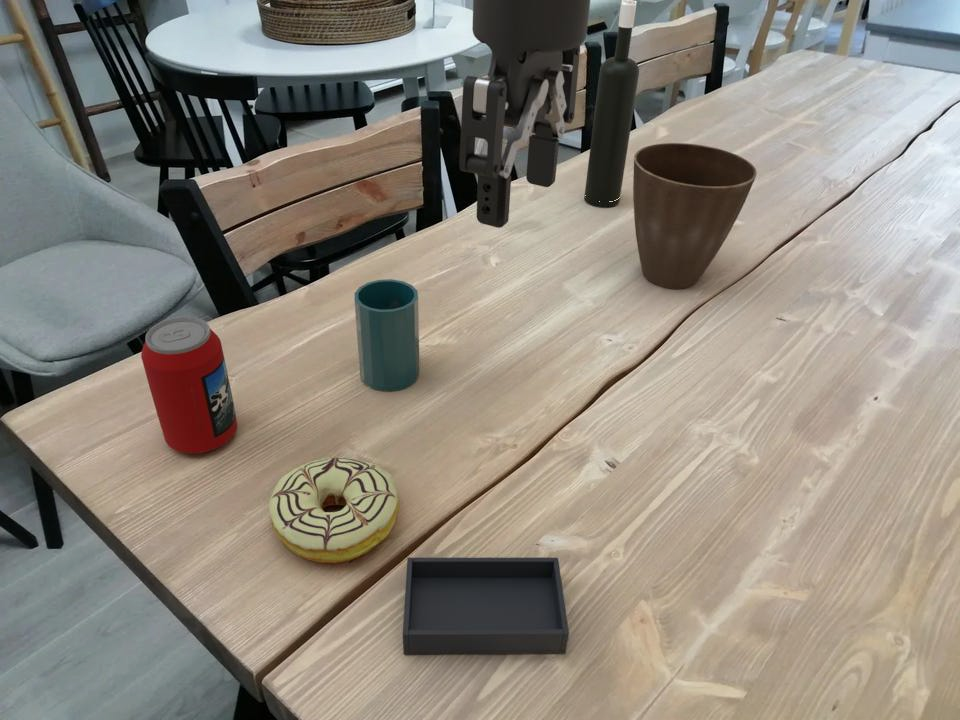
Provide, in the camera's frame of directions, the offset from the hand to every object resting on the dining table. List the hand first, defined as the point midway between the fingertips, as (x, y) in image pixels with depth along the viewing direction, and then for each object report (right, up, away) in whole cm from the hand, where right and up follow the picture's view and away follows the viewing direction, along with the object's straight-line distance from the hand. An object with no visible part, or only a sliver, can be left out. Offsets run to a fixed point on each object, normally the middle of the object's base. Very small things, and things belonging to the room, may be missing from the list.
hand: (517, 203), depth 56 cm
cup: (-13, -13, +25) cm, 31 cm away
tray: (-3, -31, +1) cm, 31 cm away
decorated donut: (-15, -26, +8) cm, 31 cm away
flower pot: (+23, 0, +46) cm, 51 cm away
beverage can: (-30, -19, +16) cm, 39 cm away
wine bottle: (+17, +14, +66) cm, 69 cm away
